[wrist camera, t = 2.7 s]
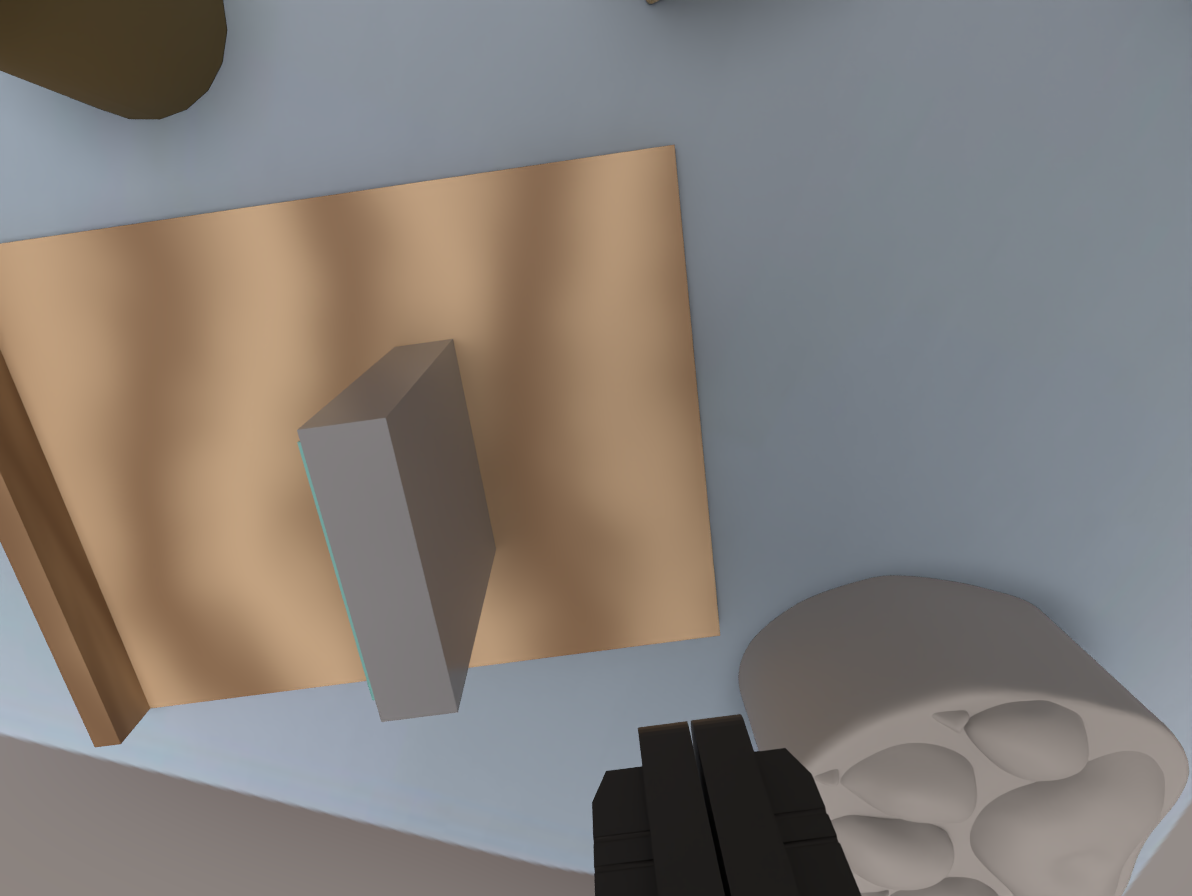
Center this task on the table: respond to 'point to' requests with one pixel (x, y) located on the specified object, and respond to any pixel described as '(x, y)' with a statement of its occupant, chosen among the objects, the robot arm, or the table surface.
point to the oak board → (314, 378)
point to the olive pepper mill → (116, 51)
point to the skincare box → (651, 1)
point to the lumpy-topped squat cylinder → (961, 740)
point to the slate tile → (405, 524)
